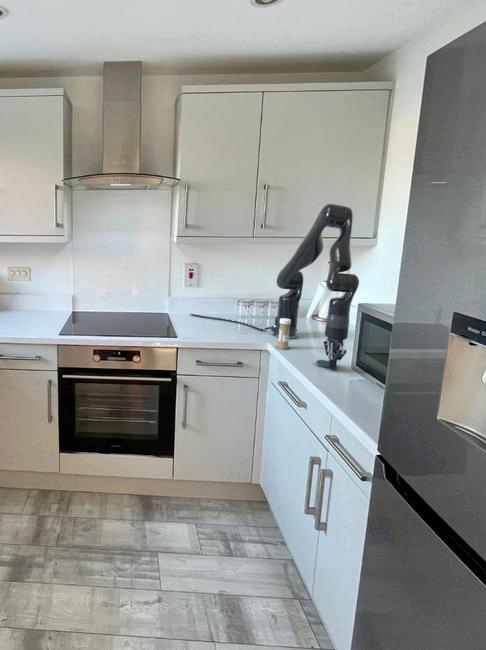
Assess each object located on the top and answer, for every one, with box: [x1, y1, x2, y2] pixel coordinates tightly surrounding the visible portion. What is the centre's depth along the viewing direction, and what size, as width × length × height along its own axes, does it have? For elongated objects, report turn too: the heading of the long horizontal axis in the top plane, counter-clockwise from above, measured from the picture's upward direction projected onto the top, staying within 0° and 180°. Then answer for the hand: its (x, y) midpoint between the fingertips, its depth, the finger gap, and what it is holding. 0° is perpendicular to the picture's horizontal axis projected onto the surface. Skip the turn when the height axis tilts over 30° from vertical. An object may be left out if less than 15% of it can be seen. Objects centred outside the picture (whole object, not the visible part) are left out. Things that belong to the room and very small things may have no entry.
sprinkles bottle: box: [277, 318, 291, 350], centre depth 188 cm, size 5×5×14 cm
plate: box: [315, 359, 329, 369], centre depth 167 cm, size 7×7×1 cm
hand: (332, 368), depth 162 cm, fingers closed
